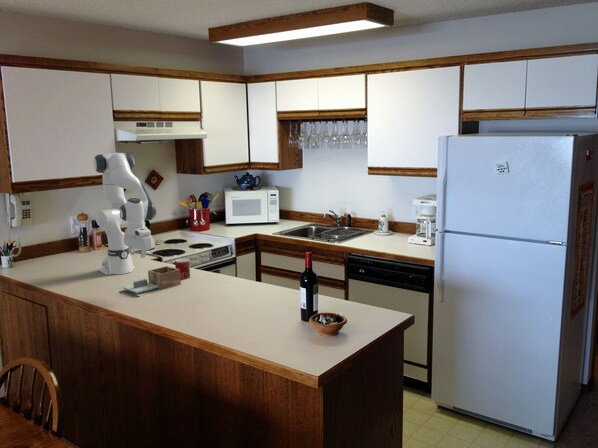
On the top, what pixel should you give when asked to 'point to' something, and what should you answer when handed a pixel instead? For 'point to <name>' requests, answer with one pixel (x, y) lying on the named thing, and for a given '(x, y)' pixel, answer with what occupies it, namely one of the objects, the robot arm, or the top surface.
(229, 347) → the top surface
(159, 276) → the crate
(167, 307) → the top surface
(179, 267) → the canned food
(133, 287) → the lid
